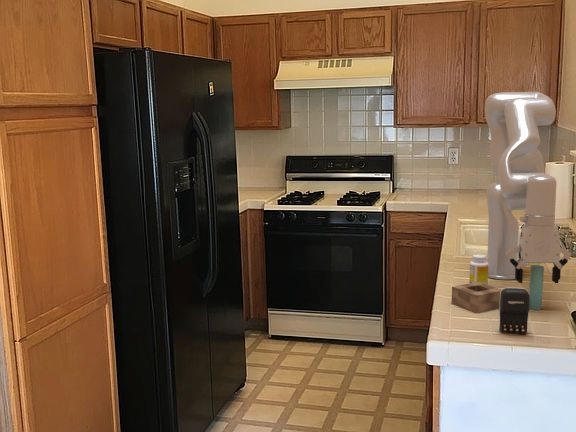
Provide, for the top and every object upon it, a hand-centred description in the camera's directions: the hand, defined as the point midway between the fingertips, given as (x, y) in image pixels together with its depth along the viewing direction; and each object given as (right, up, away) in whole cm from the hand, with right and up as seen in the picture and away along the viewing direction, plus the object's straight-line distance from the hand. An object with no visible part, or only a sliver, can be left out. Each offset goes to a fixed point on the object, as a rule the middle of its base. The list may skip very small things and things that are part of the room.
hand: (537, 282), depth 175 cm
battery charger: (-13, -11, -17) cm, 24 cm away
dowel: (0, -8, +2) cm, 8 cm away
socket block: (-15, -7, +5) cm, 18 cm away
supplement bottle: (-10, -4, +23) cm, 25 cm away
